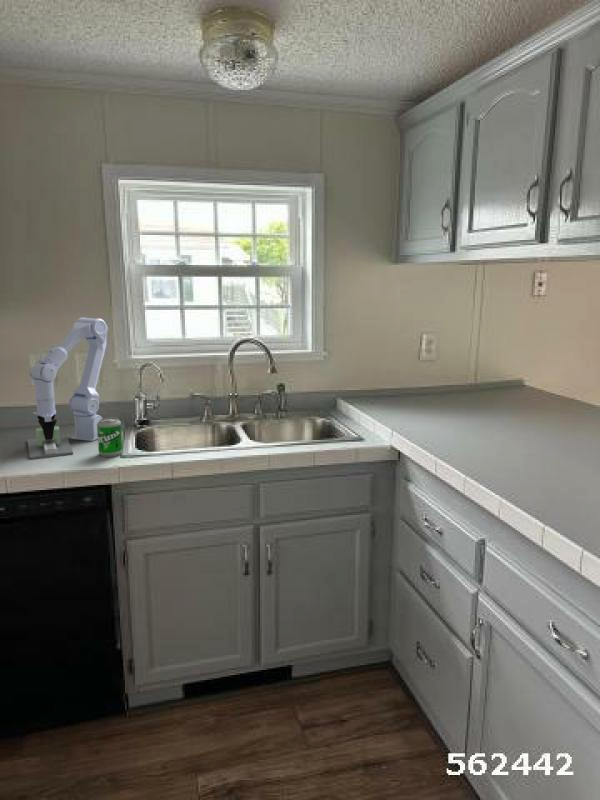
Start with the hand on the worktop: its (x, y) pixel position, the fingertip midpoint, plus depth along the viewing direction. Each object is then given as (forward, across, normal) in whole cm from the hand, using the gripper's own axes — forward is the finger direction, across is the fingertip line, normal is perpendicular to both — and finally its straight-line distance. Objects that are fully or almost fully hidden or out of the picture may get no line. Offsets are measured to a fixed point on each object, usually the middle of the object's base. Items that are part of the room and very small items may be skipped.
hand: (48, 437), depth 188 cm
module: (+2, 0, 0) cm, 2 cm away
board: (+4, 0, 0) cm, 4 cm away
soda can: (+4, +16, +18) cm, 24 cm away
